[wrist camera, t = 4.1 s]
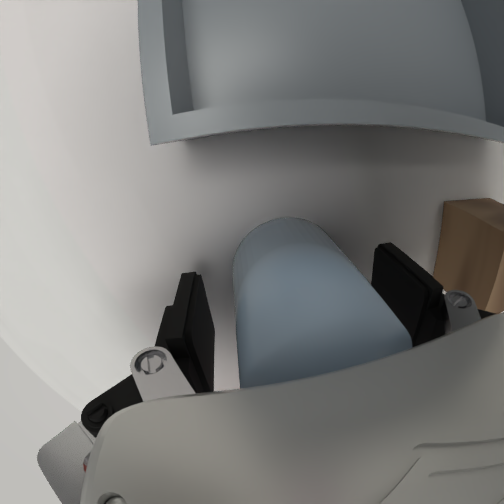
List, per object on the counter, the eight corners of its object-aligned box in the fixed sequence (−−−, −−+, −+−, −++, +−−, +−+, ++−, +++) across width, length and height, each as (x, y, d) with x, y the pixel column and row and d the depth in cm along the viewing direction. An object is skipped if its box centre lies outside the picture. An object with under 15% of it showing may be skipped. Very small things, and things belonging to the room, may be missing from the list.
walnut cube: (488, 197, 12) (542, 224, 8) (476, 264, 14) (520, 300, 10) (443, 201, 12) (507, 234, 8) (431, 278, 14) (479, 324, 10)
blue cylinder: (335, 211, 12) (431, 295, 6) (333, 301, 14) (389, 406, 8) (225, 225, 12) (224, 339, 5) (240, 317, 14) (252, 439, 7)
